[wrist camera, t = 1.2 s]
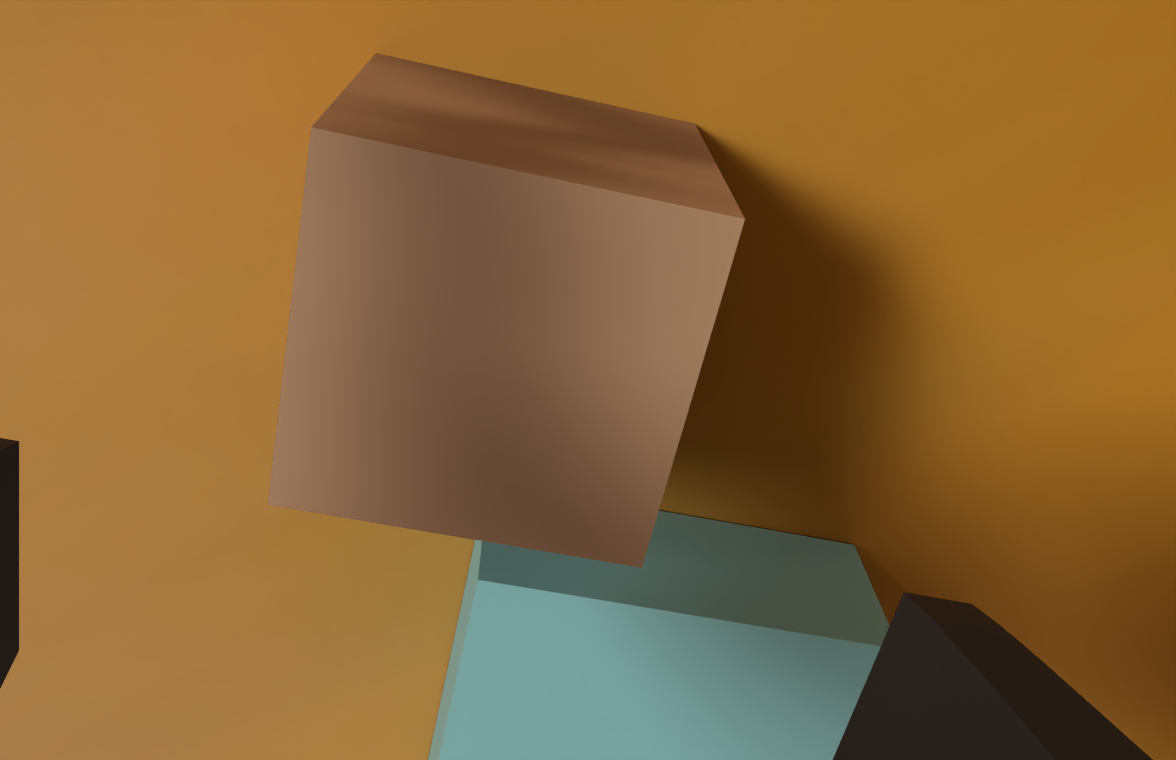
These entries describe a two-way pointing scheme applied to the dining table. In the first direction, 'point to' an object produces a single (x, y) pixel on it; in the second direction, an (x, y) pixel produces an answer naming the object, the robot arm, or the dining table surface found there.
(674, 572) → the teal plinth
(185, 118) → the dining table surface
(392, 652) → the dining table surface
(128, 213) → the dining table surface
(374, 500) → the walnut cube
